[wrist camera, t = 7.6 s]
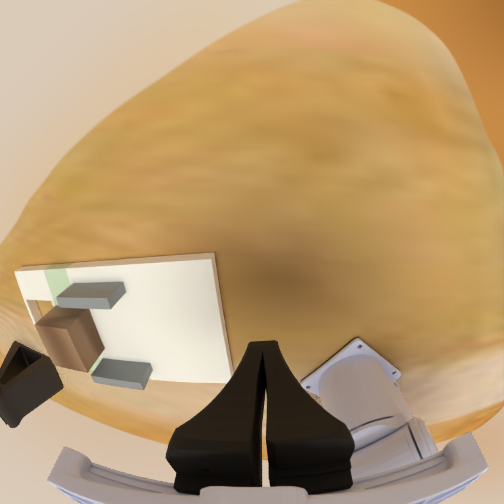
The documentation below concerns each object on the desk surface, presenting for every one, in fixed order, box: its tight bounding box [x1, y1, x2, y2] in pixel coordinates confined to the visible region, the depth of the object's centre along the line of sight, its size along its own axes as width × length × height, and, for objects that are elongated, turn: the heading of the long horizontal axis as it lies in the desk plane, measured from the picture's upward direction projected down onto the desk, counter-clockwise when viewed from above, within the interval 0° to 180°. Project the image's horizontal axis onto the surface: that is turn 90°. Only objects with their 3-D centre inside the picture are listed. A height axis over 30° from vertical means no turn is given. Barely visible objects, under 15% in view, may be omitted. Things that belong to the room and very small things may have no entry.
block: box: [34, 306, 105, 373], centre depth 21 cm, size 5×5×4 cm
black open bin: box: [0, 341, 63, 428], centre depth 23 cm, size 9×6×12 cm, turn 83°
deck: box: [14, 252, 234, 390], centre depth 22 cm, size 24×13×4 cm, turn 95°
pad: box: [44, 263, 101, 371], centre depth 24 cm, size 4×13×2 cm, turn 5°
